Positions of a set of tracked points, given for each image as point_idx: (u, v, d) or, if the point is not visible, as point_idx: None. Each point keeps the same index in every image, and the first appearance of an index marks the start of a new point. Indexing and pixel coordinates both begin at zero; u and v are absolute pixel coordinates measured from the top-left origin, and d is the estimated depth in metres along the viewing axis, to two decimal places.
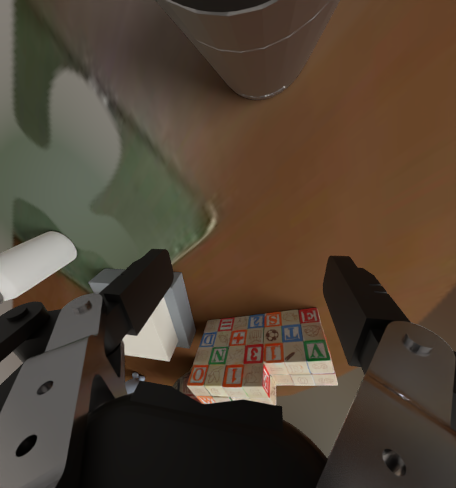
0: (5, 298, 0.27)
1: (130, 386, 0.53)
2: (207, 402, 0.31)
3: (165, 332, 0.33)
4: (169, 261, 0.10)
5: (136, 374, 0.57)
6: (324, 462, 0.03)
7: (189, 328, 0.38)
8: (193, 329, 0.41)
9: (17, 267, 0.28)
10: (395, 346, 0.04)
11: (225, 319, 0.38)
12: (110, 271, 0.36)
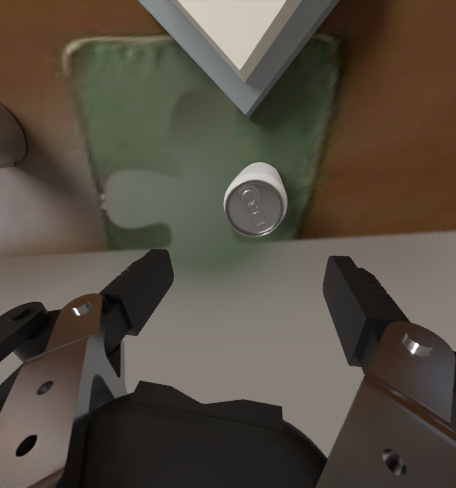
0: (253, 179, 0.17)
1: None
2: None
3: None
4: (169, 261, 0.10)
5: None
6: (324, 462, 0.03)
7: None
8: None
9: None
10: (395, 346, 0.04)
11: None
12: None
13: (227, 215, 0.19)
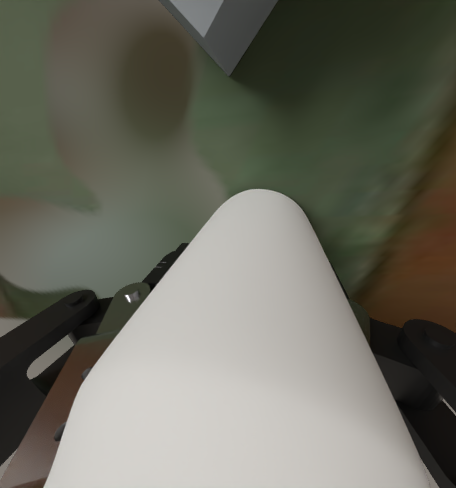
0: None
1: None
2: None
3: None
4: None
5: None
6: None
7: None
8: None
9: None
10: None
11: None
12: (196, 39, 0.08)
13: None
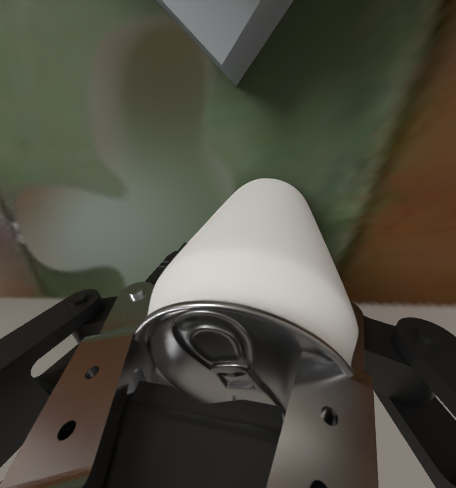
0: (219, 293, 0.04)
1: None
2: None
3: None
4: None
5: None
6: None
7: None
8: None
9: None
10: None
11: None
12: (211, 59, 0.11)
13: None
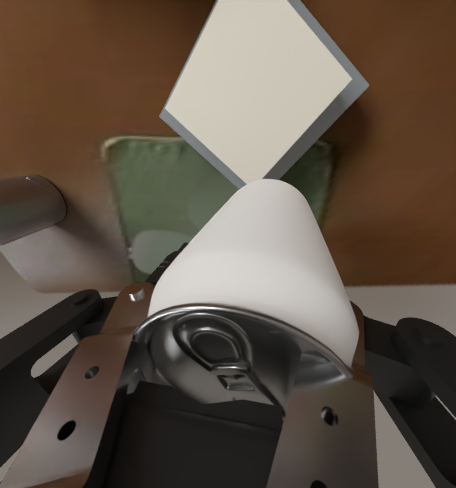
0: (219, 295, 0.04)
1: None
2: None
3: None
4: None
5: None
6: None
7: None
8: None
9: None
10: None
11: None
12: None
13: None
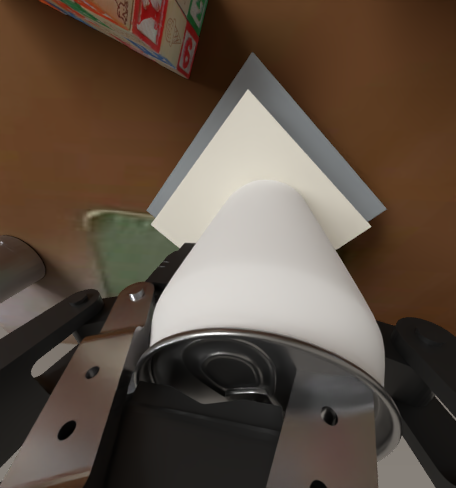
0: (239, 316, 0.03)
1: None
2: None
3: None
4: None
5: None
6: None
7: None
8: None
9: None
10: None
11: (147, 56, 0.18)
12: None
13: None
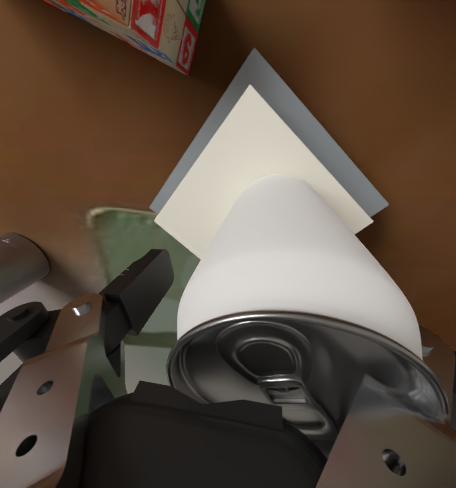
0: (282, 300, 0.03)
1: None
2: None
3: None
4: (169, 261, 0.10)
5: None
6: (324, 462, 0.03)
7: None
8: None
9: None
10: None
11: (147, 53, 0.18)
12: None
13: (184, 392, 0.05)
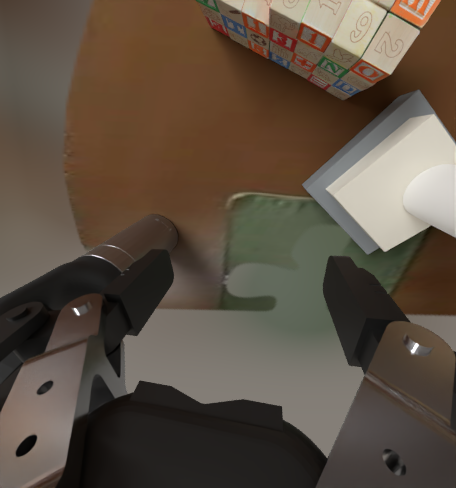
0: None
1: None
2: None
3: (372, 158, 0.25)
4: (169, 261, 0.10)
5: None
6: (324, 462, 0.03)
7: (379, 119, 0.26)
8: (389, 106, 0.26)
9: None
10: (395, 346, 0.04)
11: (319, 85, 0.27)
12: None
13: None
